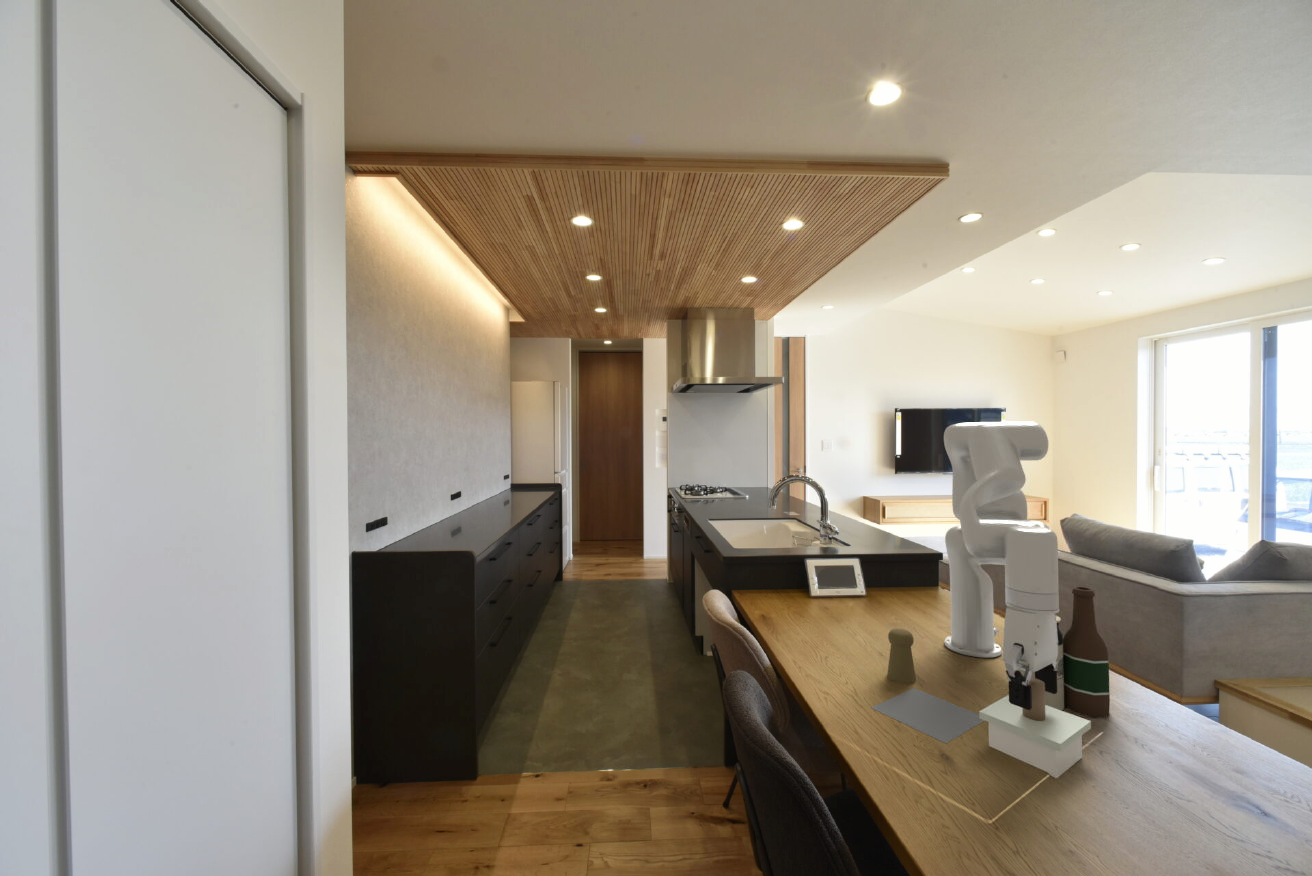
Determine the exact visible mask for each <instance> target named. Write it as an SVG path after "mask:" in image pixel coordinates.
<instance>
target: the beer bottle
mask: <svg viewBox="0 0 1312 876" xmlns="http://www.w3.org/2000/svg"><path fill="white" fill-rule="evenodd" d="M1071 594H1073V603H1072V607H1073V609H1072V621H1071V624H1070V627H1069V628H1067V629H1066V631H1065V633H1064V635H1063V670H1064V708H1067V709H1068V710H1070V711H1072V712H1073V713H1075V714H1078V715H1082V716H1085V717H1089V718H1093V719H1101V718H1102V719H1104V718H1109V717H1110V708H1111V707H1110V702H1111V700H1110V699H1111V698H1110V697H1111V696H1110V693H1111V692H1110V665H1109V663H1110V661H1109V660H1110V659H1109V657H1110V656H1109V649H1108V648H1109V647H1108V645H1107V642H1106V640H1105V638H1104V637H1103V635H1102V633H1100V631H1099V630H1098V626H1097V623H1096V614H1095V611H1096V610H1095V604H1094V597H1096V593H1095V591H1094V589H1093V588H1089V587H1087V586H1085V587H1084V586H1074V587H1073V588H1072V590H1071Z"/></svg>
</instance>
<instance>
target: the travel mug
mask: <svg viewBox="0 0 1312 876" xmlns="http://www.w3.org/2000/svg"><path fill="white" fill-rule="evenodd" d="M1056 622H1057V633H1058V657H1057V659H1056V662H1057V664H1058V668H1057V670H1055V671H1057V693H1056V694H1052V693H1049V692H1046V691H1045V705H1047V706H1050V707H1052V708H1055V709H1058V710H1061V711H1063V710H1065V706H1064V670H1063V637H1064V635H1063V633H1062V631H1061V630H1060V628H1059V625H1060V622H1062V619H1061V617H1060V616H1058V615H1056ZM1018 663H1020V664H1023V665H1026V666H1028V664H1024V663H1021V662H1018ZM1017 670H1018V671H1020V672H1021V674H1022V675H1023V676H1024V673H1025V671H1024V670H1020V669H1017ZM1053 670H1054V669H1053ZM1031 677H1032V678H1035V672H1032V674H1031Z"/></svg>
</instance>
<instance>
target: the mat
mask: <svg viewBox="0 0 1312 876" xmlns="http://www.w3.org/2000/svg"><path fill="white" fill-rule="evenodd" d="M870 708H871V709H872V710H875V711H876V712H878V713H880V714H883V715H885V716H887V717H889V718H891V719H893V720H896V721H898V722H899V723H901V724H904V725H906V726H907V727H910V728H912V729H915V730H917V731H918V732H920V733H923V734H925V735H927V736H929V737H931V738H933V739H935V740H937V741H940V742H942V743H943V744H947V743H949V742H952V741H953V740H954V739H955V740H956V738H958V737H959V736H961V735H963V734H965V733H966V732H968V731H970V730H971V729H973V728H975V727H977V726H979V725H980V724H982V723H984V722H985V720H983V719H980V718H979V713H976V712H974V711H972V710H969V709H967V708H964V707H962V706H959V705H956V704H954V703H951V702H949V701H948V700H945V699H943V698H940V697H937V696H935V695H933V694H929V693H927V692H925V691H922V690H920V689H917V688H915V687H913V688H911V689H909V690H907V691H904V692H901V693H899V694H898V695H895V696H894V697H891V698H889V699H887V700H884V701H883V702H880V703H878V704H876V705H873V706H871V707H870Z"/></svg>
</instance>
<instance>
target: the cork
mask: <svg viewBox="0 0 1312 876" xmlns="http://www.w3.org/2000/svg"><path fill="white" fill-rule="evenodd" d="M887 638H888V642H889V643H890V649H889V657H888V658H889V659H888V666H887V674H886V675H887V678H888V679H889V680H891V681H894V682H895V683H899V684H907V685H909V684H914V683H916V682H917V677H916V671H915V665H914V659H913V658H914V657H913V652H912V646H913V644H914V642H915V641H914V639H915V638H914V636H913V634H912V632H911V631H909V630H907V629H903V628H893V629H890V631H889V632H888V635H887Z"/></svg>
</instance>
